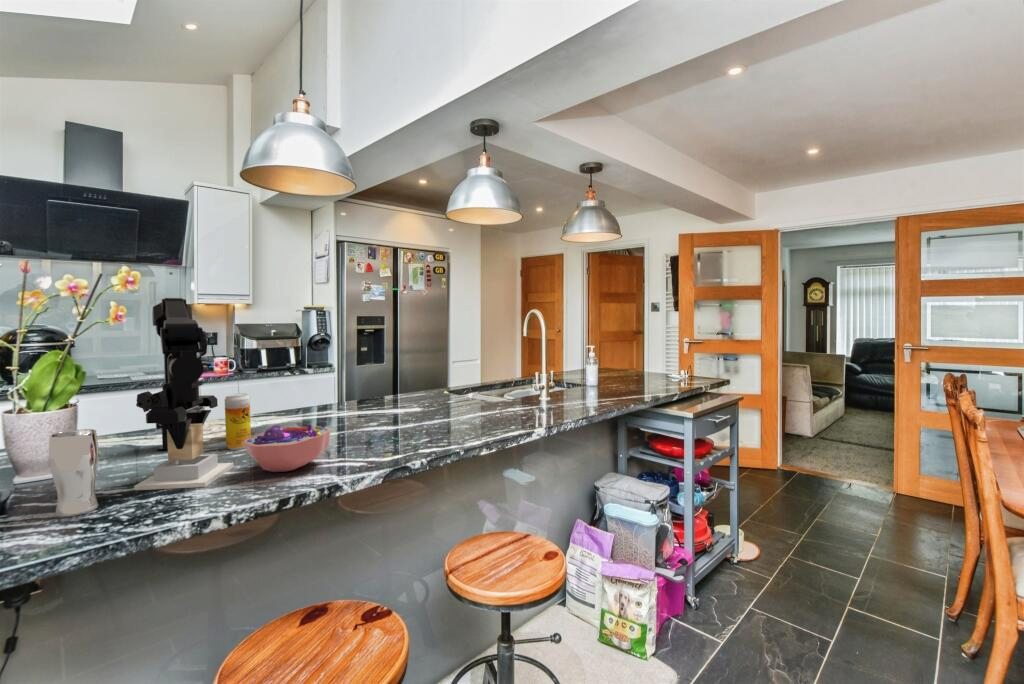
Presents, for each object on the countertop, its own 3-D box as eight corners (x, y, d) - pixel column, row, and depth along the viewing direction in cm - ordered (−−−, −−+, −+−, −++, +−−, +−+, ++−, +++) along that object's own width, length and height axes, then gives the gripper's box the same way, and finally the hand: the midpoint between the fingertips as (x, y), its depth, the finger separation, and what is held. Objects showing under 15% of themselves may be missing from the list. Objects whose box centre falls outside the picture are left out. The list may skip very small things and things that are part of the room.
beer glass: (48, 521, 86) (44, 439, 85) (56, 509, 92) (51, 432, 91) (99, 512, 90) (95, 433, 89) (103, 500, 96) (99, 427, 95)
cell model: (346, 463, 120) (345, 419, 119) (267, 487, 103) (266, 435, 102) (307, 452, 129) (306, 411, 128) (229, 472, 113) (227, 425, 112)
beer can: (240, 451, 131) (238, 397, 130) (221, 450, 132) (219, 396, 131) (256, 445, 136) (254, 393, 136) (237, 444, 138) (236, 392, 137)
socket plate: (171, 469, 115) (171, 453, 115) (233, 466, 117) (233, 450, 117) (134, 490, 101) (133, 471, 101) (205, 486, 103) (204, 468, 103)
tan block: (180, 453, 111) (179, 422, 111) (203, 452, 112) (202, 421, 111) (168, 460, 106) (166, 427, 106) (192, 459, 107) (191, 426, 106)
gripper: (168, 373, 116) (171, 436, 117) (116, 384, 98) (119, 459, 99) (217, 372, 118) (219, 435, 119) (175, 383, 99) (178, 457, 100)
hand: (186, 445), depth 109 cm, fingers closed on tan block, 5 cm apart
